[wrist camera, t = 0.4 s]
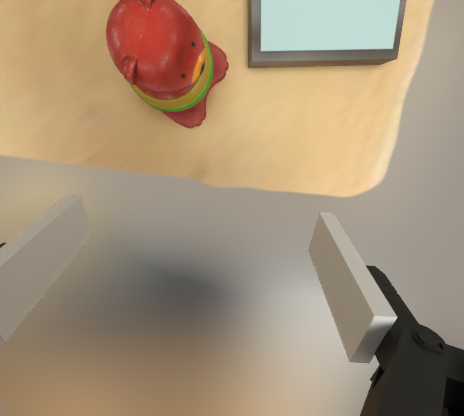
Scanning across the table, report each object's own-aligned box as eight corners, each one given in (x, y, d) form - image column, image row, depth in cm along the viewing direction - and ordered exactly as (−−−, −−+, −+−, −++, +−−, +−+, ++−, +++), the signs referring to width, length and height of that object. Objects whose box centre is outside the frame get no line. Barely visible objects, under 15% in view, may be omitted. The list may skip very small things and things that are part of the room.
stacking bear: (197, 133, 36) (181, 143, 20) (129, 96, 34) (46, 71, 18) (233, 58, 34) (251, -6, 17) (162, 13, 32) (100, -112, 15)
